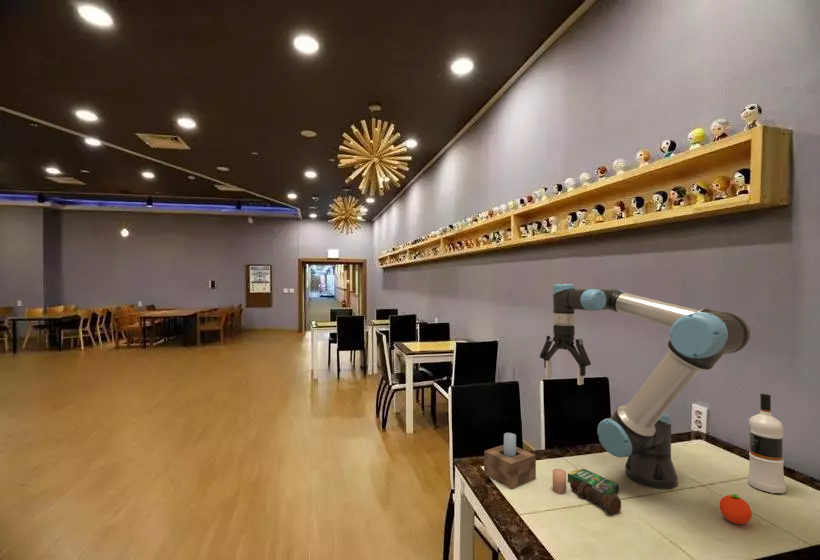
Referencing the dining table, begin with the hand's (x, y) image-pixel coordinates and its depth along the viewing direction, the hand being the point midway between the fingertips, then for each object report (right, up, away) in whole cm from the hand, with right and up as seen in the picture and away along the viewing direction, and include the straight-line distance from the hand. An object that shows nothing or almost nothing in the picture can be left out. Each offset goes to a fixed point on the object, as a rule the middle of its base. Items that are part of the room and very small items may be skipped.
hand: (564, 380), depth 149 cm
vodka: (+56, -29, -23) cm, 67 cm away
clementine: (+31, -28, -41) cm, 59 cm away
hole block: (-25, -28, -16) cm, 41 cm away
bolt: (-3, -29, -31) cm, 42 cm away
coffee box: (+4, -27, -28) cm, 39 cm away
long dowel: (-25, -28, -16) cm, 41 cm away
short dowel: (-11, -28, -25) cm, 39 cm away
